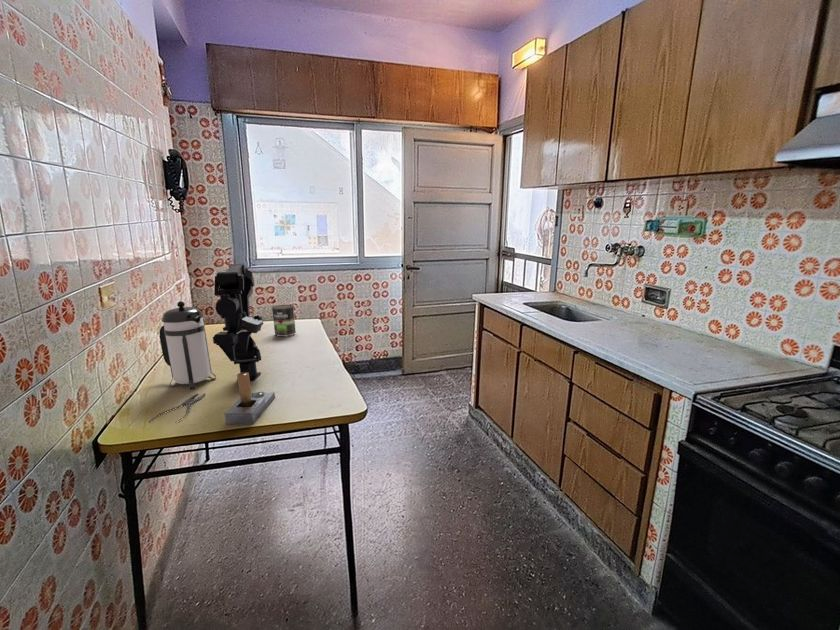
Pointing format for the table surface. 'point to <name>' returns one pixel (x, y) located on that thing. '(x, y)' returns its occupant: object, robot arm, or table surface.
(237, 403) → the gray remote-style box
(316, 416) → the table surface
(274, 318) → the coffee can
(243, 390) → the pin
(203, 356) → the coffee press
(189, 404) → the pliers
